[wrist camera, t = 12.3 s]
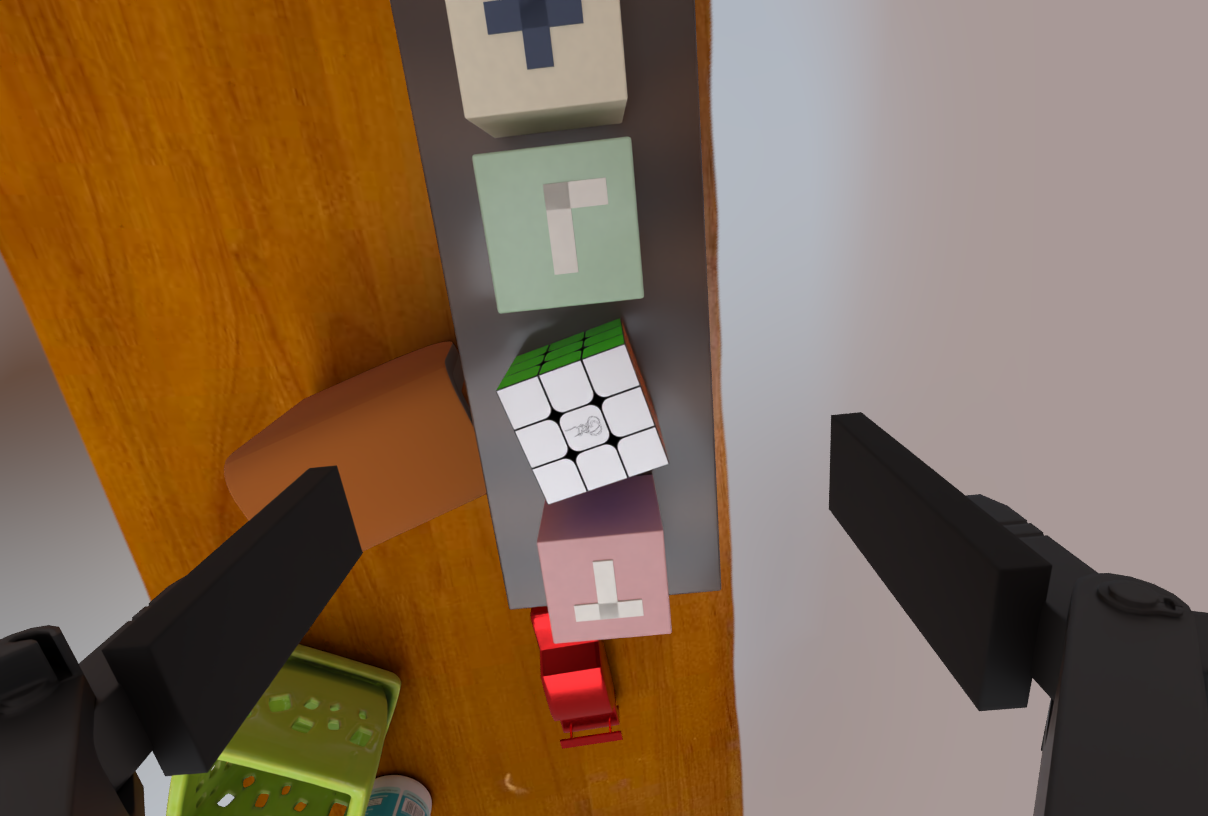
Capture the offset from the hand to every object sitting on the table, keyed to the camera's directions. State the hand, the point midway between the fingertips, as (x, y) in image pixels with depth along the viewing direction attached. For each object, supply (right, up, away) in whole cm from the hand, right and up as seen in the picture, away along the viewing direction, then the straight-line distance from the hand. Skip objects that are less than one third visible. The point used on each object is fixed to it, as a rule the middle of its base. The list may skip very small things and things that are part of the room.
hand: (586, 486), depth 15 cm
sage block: (-1, +10, +8) cm, 12 cm away
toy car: (-2, -20, +38) cm, 43 cm away
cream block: (-2, +15, +6) cm, 16 cm away
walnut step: (-1, +11, +26) cm, 29 cm away
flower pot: (-25, -25, +39) cm, 53 cm away
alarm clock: (-20, -3, +22) cm, 30 cm away
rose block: (+1, -4, +13) cm, 13 cm away
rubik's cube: (0, +3, +10) cm, 11 cm away
